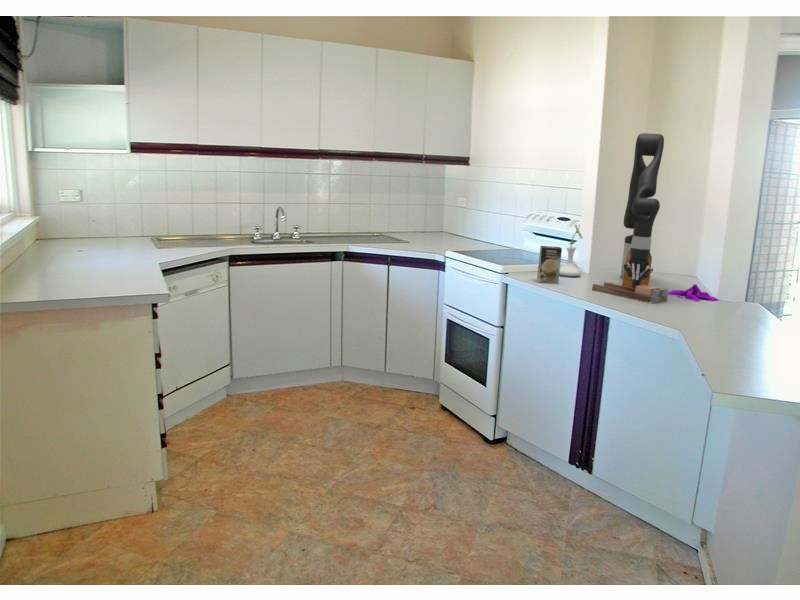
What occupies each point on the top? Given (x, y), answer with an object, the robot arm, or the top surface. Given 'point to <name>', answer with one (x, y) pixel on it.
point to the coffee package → (628, 280)
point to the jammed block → (645, 289)
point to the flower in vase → (570, 260)
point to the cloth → (693, 294)
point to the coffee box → (549, 264)
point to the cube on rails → (632, 292)
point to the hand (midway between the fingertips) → (635, 288)
